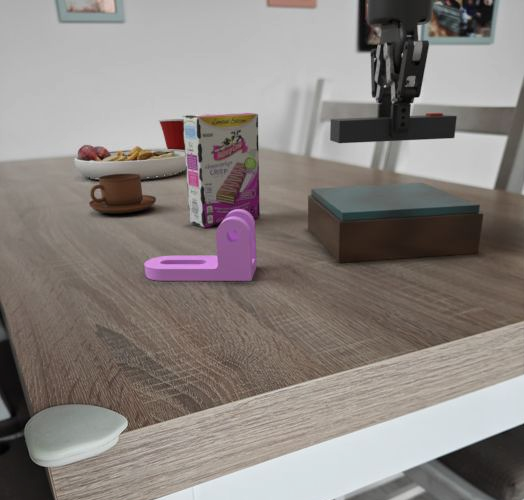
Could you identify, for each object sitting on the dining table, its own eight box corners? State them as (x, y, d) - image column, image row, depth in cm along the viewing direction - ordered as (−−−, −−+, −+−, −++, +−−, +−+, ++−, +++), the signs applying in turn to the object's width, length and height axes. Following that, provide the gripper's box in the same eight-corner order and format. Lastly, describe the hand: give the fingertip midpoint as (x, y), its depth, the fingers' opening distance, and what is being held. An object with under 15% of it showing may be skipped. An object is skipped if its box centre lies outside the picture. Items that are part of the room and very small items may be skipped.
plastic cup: (198, 155, 186) (195, 117, 181) (191, 159, 177) (188, 118, 171) (166, 156, 187) (163, 118, 182) (158, 160, 178) (154, 119, 173)
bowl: (194, 165, 162) (192, 136, 158) (188, 180, 135) (185, 146, 131) (91, 169, 161) (86, 140, 157) (64, 185, 133) (58, 151, 130)
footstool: (420, 221, 87) (424, 182, 84) (478, 253, 69) (484, 205, 67) (307, 228, 85) (308, 188, 82) (338, 262, 68) (339, 213, 65)
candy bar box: (205, 229, 86) (196, 115, 79) (189, 224, 90) (179, 115, 83) (262, 218, 92) (259, 111, 85) (245, 214, 96) (241, 111, 89)
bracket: (256, 266, 67) (254, 208, 64) (251, 280, 62) (248, 219, 59) (153, 266, 69) (146, 210, 66) (139, 280, 64) (131, 220, 61)
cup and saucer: (130, 219, 95) (125, 182, 92) (76, 215, 99) (70, 180, 97) (169, 206, 105) (166, 172, 102) (118, 203, 109) (114, 171, 107)
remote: (330, 140, 72) (330, 116, 71) (439, 135, 74) (441, 112, 73) (338, 143, 68) (339, 118, 67) (454, 138, 70) (457, 113, 69)
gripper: (460, -36, 58) (443, 138, 65) (410, -13, 70) (400, 130, 78) (391, -36, 57) (381, 141, 64) (353, -12, 70) (348, 133, 77)
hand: (391, 134), depth 71 cm, fingers closed on remote, 4 cm apart
